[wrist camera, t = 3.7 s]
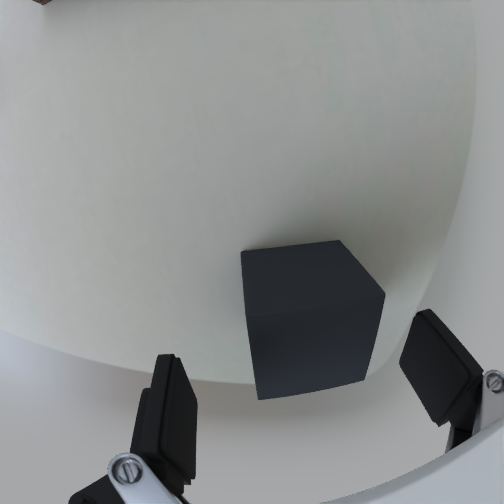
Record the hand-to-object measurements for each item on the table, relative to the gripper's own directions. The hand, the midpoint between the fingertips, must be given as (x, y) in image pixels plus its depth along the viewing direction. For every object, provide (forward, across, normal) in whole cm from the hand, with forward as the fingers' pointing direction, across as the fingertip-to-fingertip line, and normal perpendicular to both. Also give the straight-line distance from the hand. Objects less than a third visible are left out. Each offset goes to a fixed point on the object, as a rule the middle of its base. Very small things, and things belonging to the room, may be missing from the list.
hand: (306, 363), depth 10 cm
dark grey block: (+5, -1, 0) cm, 5 cm away
